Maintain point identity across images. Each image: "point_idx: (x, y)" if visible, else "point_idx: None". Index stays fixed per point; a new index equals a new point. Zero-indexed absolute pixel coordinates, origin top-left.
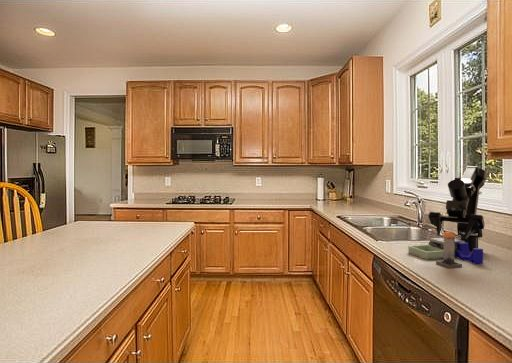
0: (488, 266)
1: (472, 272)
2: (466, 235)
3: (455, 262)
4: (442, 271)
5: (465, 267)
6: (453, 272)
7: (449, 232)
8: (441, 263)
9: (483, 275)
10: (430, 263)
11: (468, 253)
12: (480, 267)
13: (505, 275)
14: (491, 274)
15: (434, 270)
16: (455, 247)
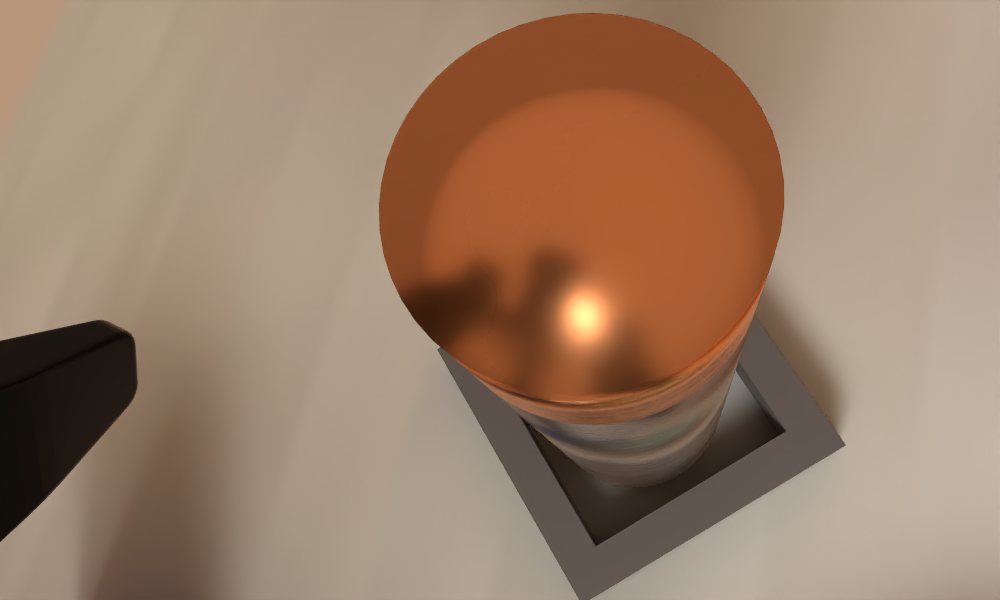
0: (50, 514)
1: (386, 101)
2: (27, 336)
3: (514, 448)
4: (791, 11)
5: (403, 348)
6: (642, 14)
7: (548, 236)
8: (765, 330)
9: (296, 8)
10: (941, 454)
11: None
12: (186, 416)
13: (41, 99)
14: (183, 87)
15: (906, 24)
16: None
